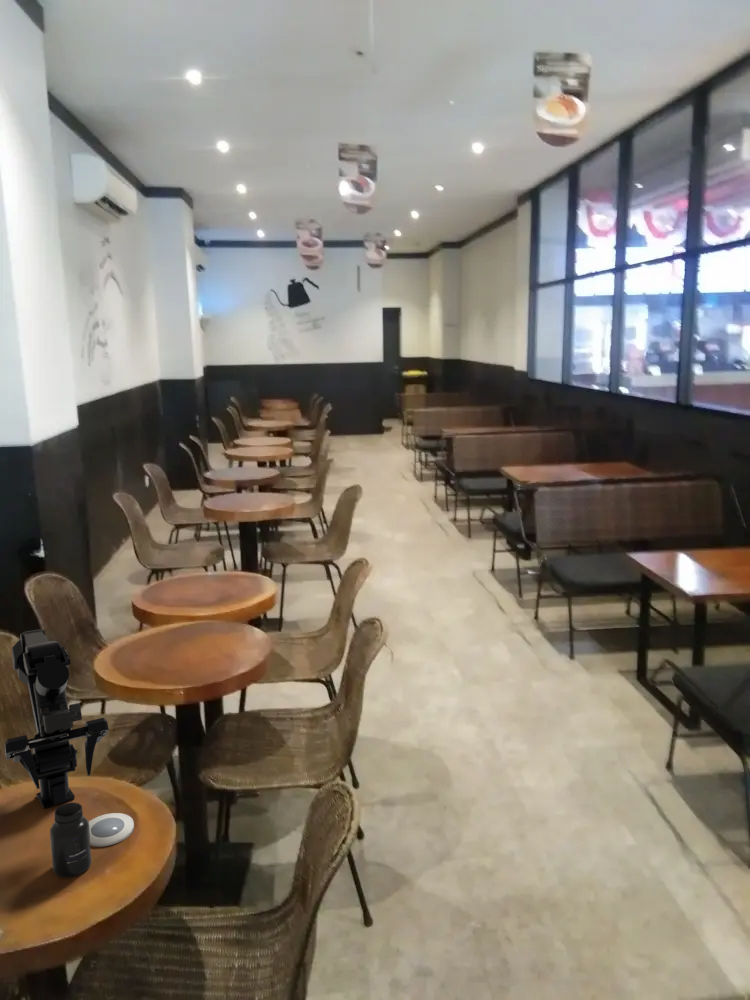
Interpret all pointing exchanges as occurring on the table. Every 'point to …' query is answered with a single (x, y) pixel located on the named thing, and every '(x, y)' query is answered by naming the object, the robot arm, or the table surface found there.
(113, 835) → the coaster
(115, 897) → the table surface
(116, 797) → the table surface
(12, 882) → the table surface
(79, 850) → the supplement bottle
